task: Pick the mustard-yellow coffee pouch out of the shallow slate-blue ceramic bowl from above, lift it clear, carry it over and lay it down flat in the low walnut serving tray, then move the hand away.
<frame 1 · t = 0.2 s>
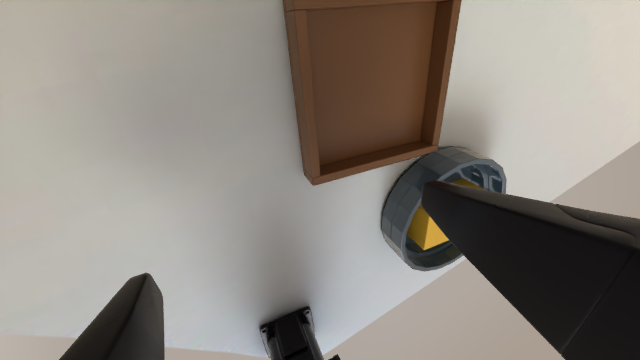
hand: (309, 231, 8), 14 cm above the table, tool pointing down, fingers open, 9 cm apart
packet: (432, 203, 33), resting on bowl
tray: (368, 88, 23), on the table
bowl: (431, 202, 34), on the table
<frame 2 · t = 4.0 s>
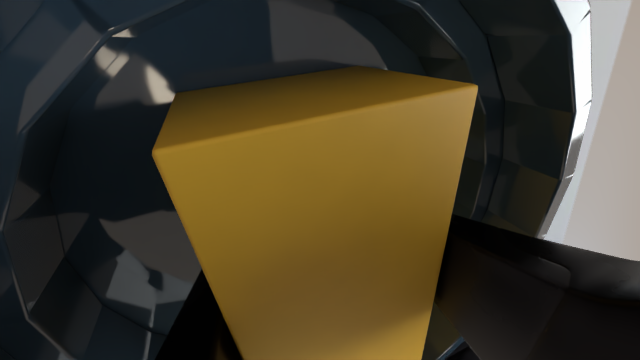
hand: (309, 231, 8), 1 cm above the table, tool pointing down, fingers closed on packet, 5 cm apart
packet: (298, 213, 9), resting on bowl, touching gripper
bowl: (296, 209, 9), on the table
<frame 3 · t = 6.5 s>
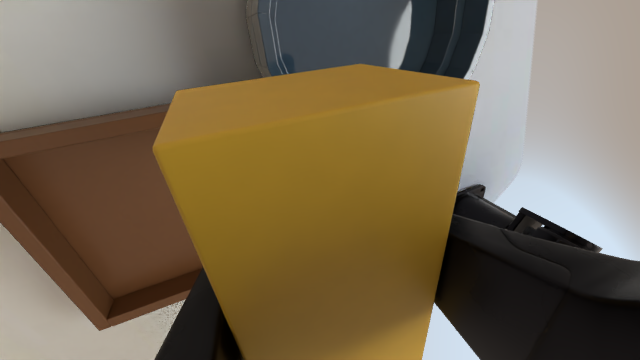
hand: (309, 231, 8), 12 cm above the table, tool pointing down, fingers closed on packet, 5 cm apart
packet: (298, 212, 9), point 11 cm above the table, touching gripper
tray: (170, 206, 19), on the table
bowl: (359, 28, 18), on the table
when the fingers open (1 cm above the table, at t = 9.3 s): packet stays where it is, resting on tray.
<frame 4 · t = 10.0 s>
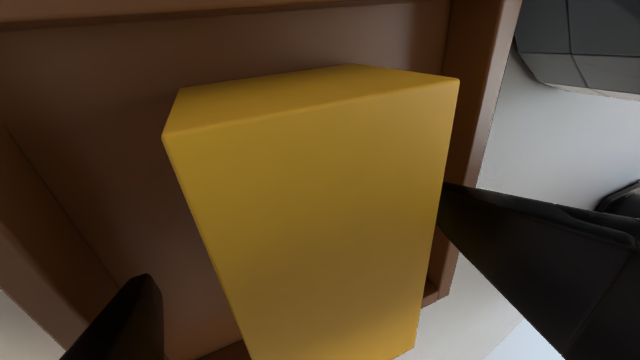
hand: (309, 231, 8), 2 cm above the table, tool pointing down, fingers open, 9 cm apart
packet: (296, 205, 10), resting on tray
tray: (291, 200, 10), on the table
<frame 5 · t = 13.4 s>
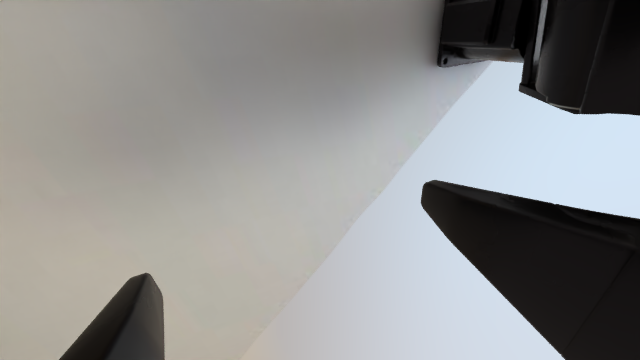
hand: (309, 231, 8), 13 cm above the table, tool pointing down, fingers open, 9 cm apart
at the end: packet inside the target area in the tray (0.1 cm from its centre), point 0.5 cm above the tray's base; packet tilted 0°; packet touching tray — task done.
